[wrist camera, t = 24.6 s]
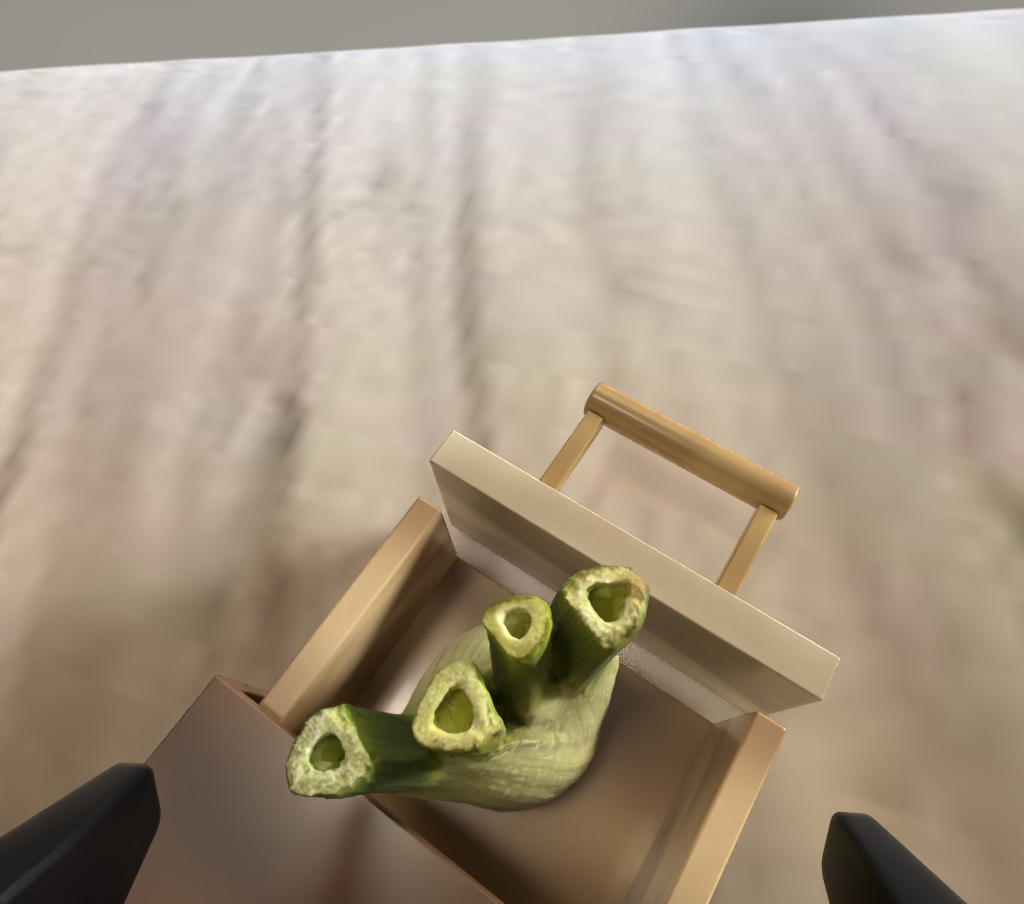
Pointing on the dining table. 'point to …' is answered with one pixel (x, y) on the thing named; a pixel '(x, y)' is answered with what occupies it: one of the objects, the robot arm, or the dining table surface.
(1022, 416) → the dining table surface
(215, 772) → the cabinet
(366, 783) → the fennel bulb
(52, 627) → the dining table surface
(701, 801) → the drawer
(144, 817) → the robot arm
